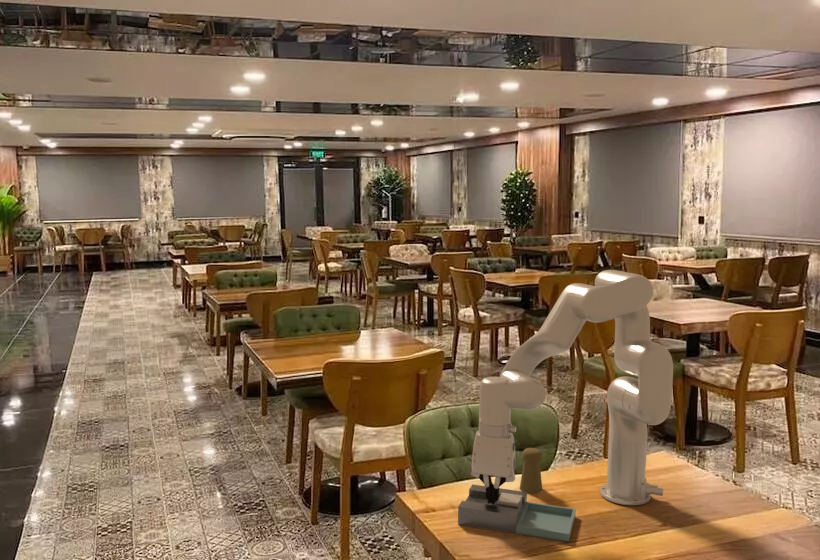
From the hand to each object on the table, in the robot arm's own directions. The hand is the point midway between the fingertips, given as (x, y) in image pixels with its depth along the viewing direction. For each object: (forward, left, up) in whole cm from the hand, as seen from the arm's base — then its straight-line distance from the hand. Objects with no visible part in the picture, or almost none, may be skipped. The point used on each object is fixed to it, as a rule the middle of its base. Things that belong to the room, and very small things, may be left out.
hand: (492, 501), depth 177 cm
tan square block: (-4, 0, -1) cm, 4 cm away
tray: (-13, 0, -4) cm, 14 cm away
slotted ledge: (0, 0, -4) cm, 4 cm away
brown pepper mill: (-6, -20, -4) cm, 21 cm away
